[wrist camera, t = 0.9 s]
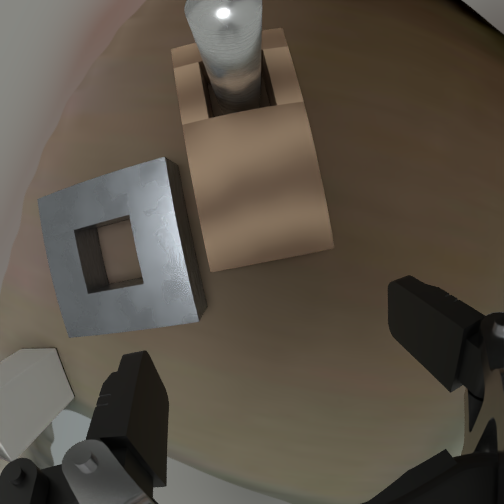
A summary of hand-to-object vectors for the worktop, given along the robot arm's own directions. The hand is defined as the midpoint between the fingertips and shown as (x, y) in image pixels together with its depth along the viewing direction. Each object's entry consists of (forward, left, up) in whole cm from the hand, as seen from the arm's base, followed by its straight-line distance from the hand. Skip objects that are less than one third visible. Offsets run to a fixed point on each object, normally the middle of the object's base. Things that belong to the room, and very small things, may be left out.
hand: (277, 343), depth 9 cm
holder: (-3, -13, -20) cm, 25 cm away
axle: (-15, +1, -20) cm, 25 cm away
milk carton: (+10, -30, -21) cm, 38 cm away
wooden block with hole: (-10, +1, -20) cm, 23 cm away
